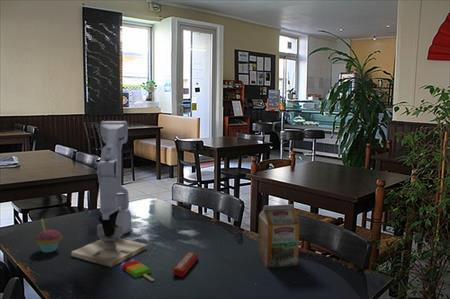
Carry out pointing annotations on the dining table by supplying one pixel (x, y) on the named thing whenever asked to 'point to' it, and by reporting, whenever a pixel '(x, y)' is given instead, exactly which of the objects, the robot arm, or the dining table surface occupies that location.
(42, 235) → the cupcake
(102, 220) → the robot arm
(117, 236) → the grey block
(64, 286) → the dining table surface
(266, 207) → the milk carton
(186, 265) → the candy bar
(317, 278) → the dining table surface
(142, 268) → the popsicle
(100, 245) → the post base
